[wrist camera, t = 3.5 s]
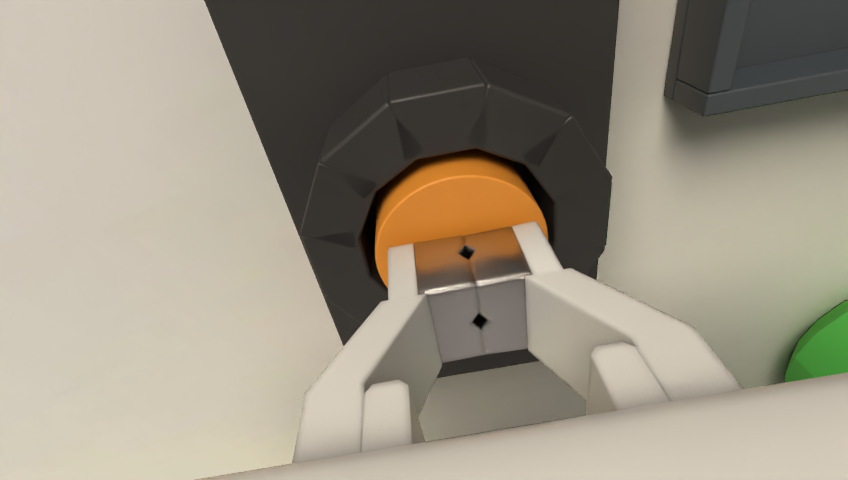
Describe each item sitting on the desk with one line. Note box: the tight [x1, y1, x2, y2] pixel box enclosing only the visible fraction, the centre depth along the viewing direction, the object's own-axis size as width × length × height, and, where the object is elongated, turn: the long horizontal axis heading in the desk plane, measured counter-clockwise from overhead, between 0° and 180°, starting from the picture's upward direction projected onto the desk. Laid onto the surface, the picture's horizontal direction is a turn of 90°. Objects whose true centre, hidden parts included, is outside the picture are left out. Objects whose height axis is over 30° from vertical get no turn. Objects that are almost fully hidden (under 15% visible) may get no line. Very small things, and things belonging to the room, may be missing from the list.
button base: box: [204, 0, 619, 378], centre depth 11 cm, size 14×8×5 cm, turn 9°
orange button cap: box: [375, 149, 548, 288], centre depth 10 cm, size 4×4×2 cm
